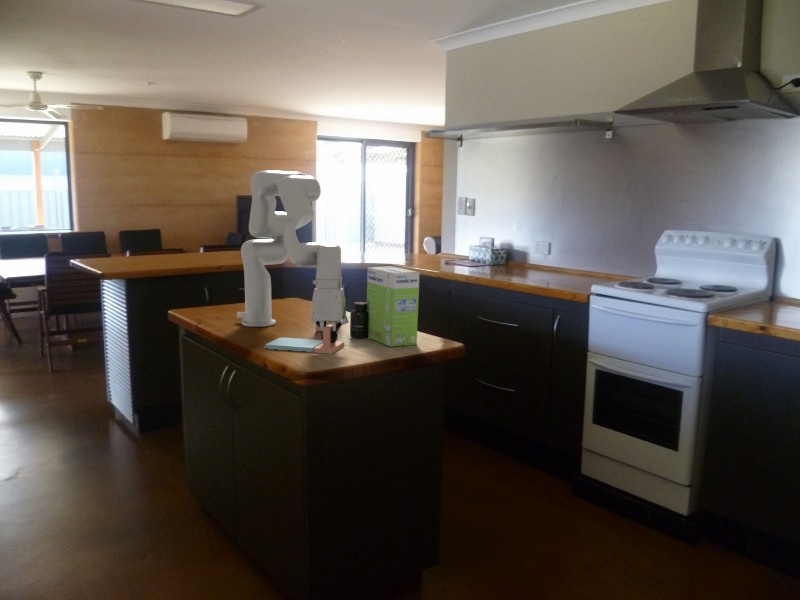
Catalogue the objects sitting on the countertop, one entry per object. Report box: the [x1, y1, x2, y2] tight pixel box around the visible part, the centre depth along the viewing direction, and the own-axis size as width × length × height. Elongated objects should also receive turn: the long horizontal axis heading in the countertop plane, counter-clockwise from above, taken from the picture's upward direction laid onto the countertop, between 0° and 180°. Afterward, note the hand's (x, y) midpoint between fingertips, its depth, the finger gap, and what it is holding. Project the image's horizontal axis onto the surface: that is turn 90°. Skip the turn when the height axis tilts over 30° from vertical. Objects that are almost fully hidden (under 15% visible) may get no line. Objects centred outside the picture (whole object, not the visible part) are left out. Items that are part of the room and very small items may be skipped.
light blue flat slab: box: [264, 336, 323, 353], centre depth 207 cm, size 16×11×1 cm
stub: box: [313, 324, 345, 355], centre depth 204 cm, size 6×11×7 cm, turn 166°
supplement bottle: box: [349, 301, 370, 340], centre depth 221 cm, size 7×7×12 cm
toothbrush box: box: [366, 265, 420, 348], centre depth 215 cm, size 18×10×24 cm, turn 32°
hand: (329, 341), depth 204 cm, fingers closed on stub, 2 cm apart
